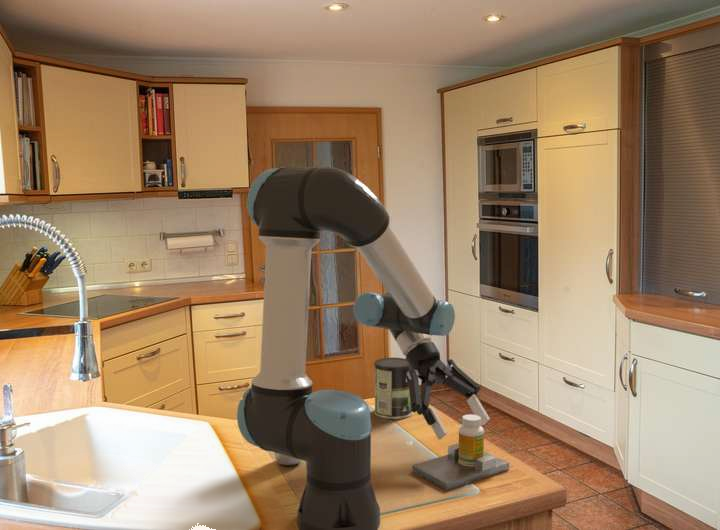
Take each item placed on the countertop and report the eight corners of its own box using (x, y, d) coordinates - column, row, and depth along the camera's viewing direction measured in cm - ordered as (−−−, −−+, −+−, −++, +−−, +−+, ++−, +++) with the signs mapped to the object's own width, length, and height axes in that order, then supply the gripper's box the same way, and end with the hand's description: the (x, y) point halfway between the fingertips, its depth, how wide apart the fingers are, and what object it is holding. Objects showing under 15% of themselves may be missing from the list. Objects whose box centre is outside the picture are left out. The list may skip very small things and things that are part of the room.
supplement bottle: (477, 467, 145) (478, 423, 144) (454, 462, 148) (454, 418, 147) (487, 458, 150) (487, 415, 149) (464, 453, 153) (464, 411, 152)
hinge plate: (446, 490, 138) (447, 474, 138) (412, 471, 147) (412, 456, 146) (509, 469, 148) (509, 453, 148) (473, 453, 157) (473, 438, 157)
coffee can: (414, 408, 189) (414, 358, 187) (409, 420, 178) (410, 368, 177) (377, 405, 191) (377, 356, 189) (370, 418, 181) (370, 366, 179)
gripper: (447, 349, 170) (492, 424, 161) (370, 366, 155) (415, 451, 145) (463, 332, 165) (511, 408, 156) (385, 348, 150) (433, 434, 140)
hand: (465, 429), depth 150 cm, fingers open, 13 cm apart
